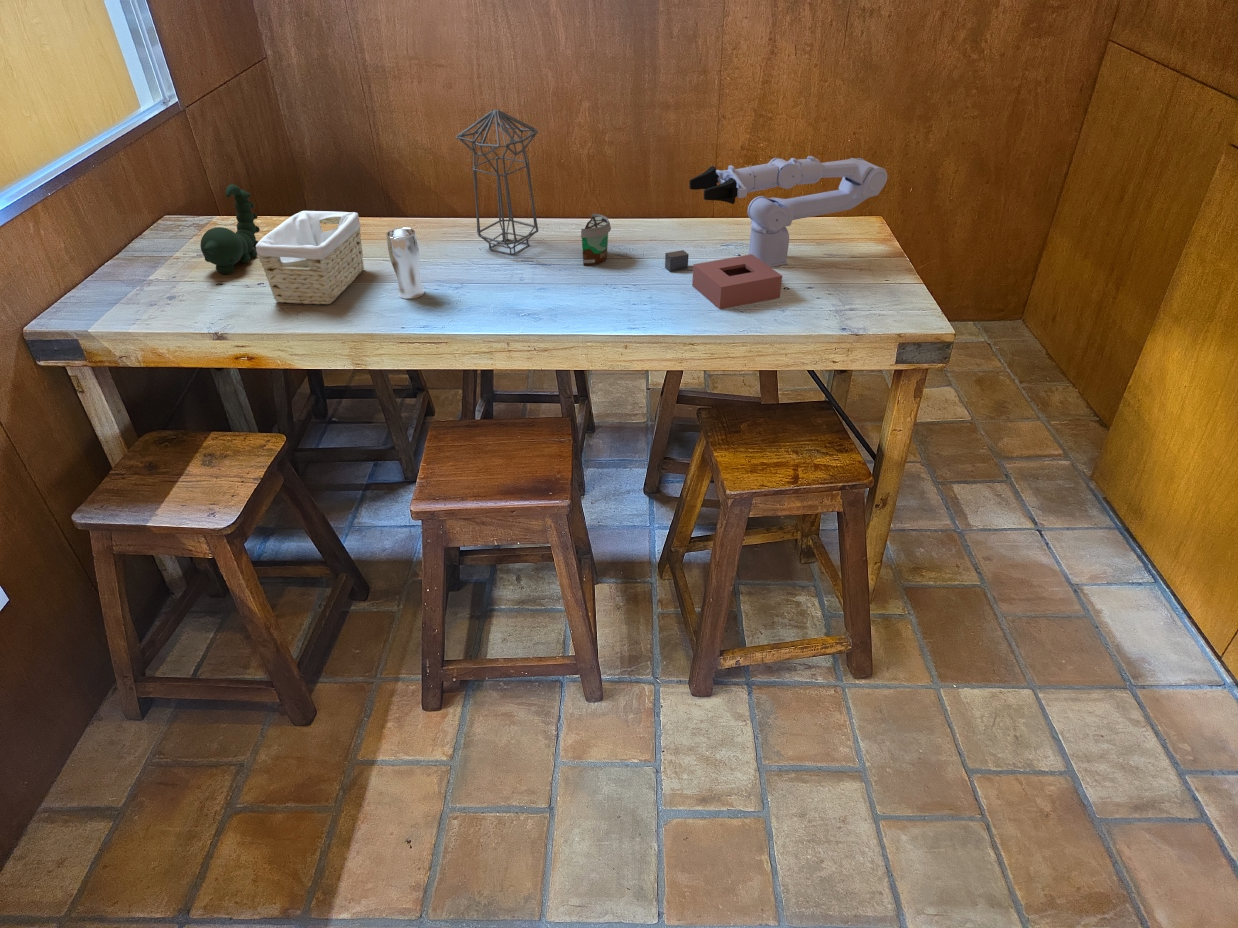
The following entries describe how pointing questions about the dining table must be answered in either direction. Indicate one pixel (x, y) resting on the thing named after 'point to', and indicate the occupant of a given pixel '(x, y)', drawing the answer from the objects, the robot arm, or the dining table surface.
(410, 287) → the beer glass
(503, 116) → the geometric lantern
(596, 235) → the food container
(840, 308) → the dining table surface
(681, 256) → the grey rectangular block
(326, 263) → the storage basket
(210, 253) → the toy figurine
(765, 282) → the box
